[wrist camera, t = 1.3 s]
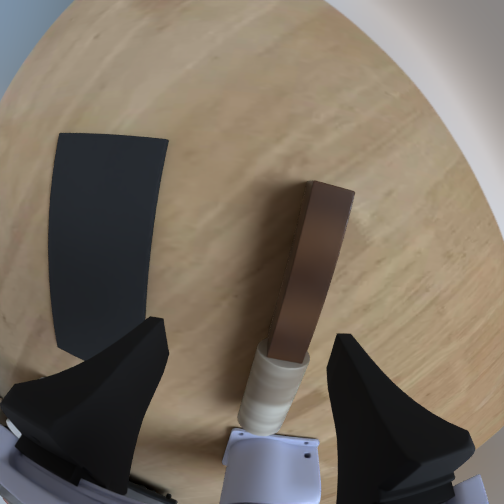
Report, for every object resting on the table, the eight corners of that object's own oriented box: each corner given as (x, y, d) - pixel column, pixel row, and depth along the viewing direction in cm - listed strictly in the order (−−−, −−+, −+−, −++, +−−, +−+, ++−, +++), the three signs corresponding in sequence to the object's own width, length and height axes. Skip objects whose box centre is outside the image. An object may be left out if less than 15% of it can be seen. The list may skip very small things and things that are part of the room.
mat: (169, 140, 18) (166, 139, 18) (144, 381, 24) (142, 384, 23) (63, 133, 19) (59, 132, 18) (60, 344, 24) (57, 347, 24)
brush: (297, 178, 18) (302, 176, 15) (352, 192, 18) (370, 195, 14) (239, 401, 23) (234, 431, 20) (281, 408, 23) (281, 439, 19)
